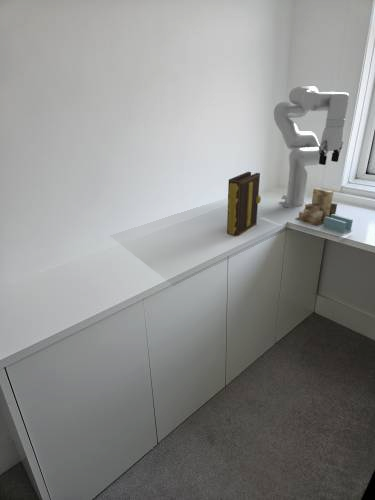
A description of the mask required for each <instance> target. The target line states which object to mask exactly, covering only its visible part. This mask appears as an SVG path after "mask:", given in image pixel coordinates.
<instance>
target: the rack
mask: <svg viewBox="0 0 375 500" xmlns="http://www.w3.org/2000/svg"><path fill="white" fill-rule="evenodd" d="M337 206H338V203H335V202H332V203H331V208H330V214H329V216H328V215H325V214H323V211H320V206H317V205H313V204H312V203H306V205H305V206H304V209H303V210H301V211H299V212H298V217H295V218H294V220H296V221H300V222H302V223H305V224H309V225H312V226H316V227H319V226H321V225H322V226H323V224H324V218H325V217H326V216H327V217H330V218H331V214H335V215H336V212H337Z"/></svg>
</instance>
